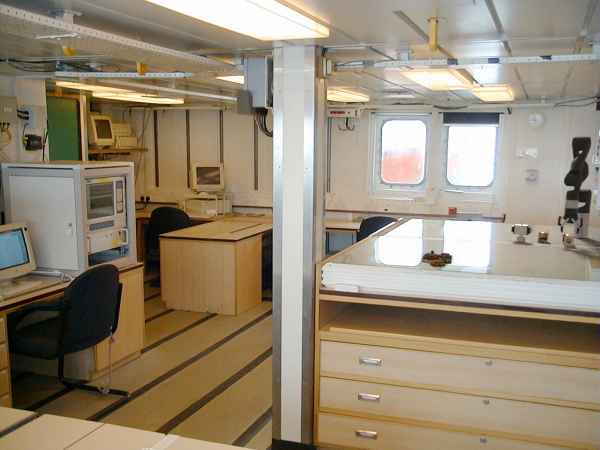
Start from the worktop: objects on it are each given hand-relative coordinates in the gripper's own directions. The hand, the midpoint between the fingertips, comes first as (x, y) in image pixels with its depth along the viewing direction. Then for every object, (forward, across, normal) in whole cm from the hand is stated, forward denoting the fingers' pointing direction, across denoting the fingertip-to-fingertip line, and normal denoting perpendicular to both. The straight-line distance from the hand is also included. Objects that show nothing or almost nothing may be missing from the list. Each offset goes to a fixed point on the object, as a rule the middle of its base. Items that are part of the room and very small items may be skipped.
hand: (569, 233), depth 380 cm
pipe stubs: (+8, +9, -9) cm, 15 cm away
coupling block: (+8, 0, 0) cm, 8 cm away
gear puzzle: (+10, +56, +95) cm, 110 cm away
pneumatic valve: (+8, +29, -3) cm, 30 cm away
